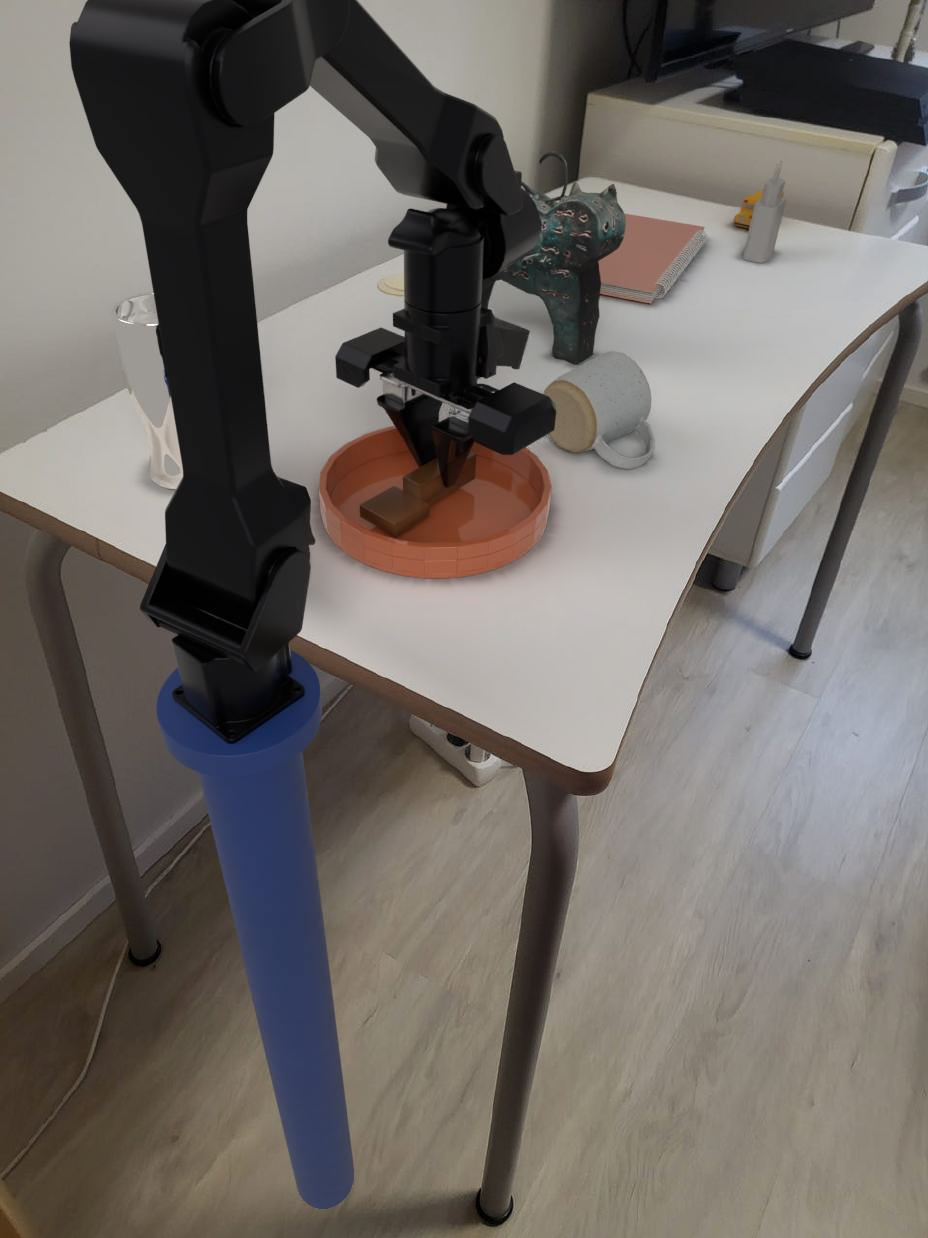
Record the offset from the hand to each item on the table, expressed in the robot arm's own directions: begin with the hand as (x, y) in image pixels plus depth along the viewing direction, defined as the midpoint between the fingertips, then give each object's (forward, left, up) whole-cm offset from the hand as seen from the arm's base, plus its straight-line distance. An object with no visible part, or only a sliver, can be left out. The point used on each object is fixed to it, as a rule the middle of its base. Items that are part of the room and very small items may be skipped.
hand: (439, 480), depth 79 cm
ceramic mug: (+18, -4, -3) cm, 19 cm away
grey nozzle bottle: (+76, +10, -3) cm, 77 cm away
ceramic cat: (+31, +16, -3) cm, 35 cm away
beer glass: (-12, +20, -3) cm, 23 cm away
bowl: (-1, 0, -2) cm, 3 cm away
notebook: (+61, +22, -3) cm, 65 cm away
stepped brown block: (-2, 0, -1) cm, 2 cm away
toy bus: (+89, +17, -3) cm, 91 cm away
